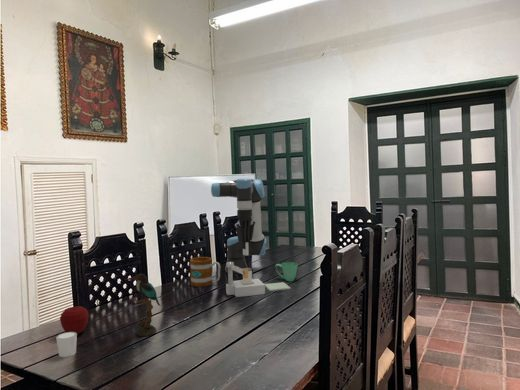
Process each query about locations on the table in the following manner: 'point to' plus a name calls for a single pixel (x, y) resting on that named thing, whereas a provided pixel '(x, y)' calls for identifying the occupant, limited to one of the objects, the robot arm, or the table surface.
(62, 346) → the shot glass
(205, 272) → the mug
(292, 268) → the mug
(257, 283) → the socket
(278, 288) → the mat
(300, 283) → the table surface
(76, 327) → the apple
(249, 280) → the plug
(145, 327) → the sculpture
